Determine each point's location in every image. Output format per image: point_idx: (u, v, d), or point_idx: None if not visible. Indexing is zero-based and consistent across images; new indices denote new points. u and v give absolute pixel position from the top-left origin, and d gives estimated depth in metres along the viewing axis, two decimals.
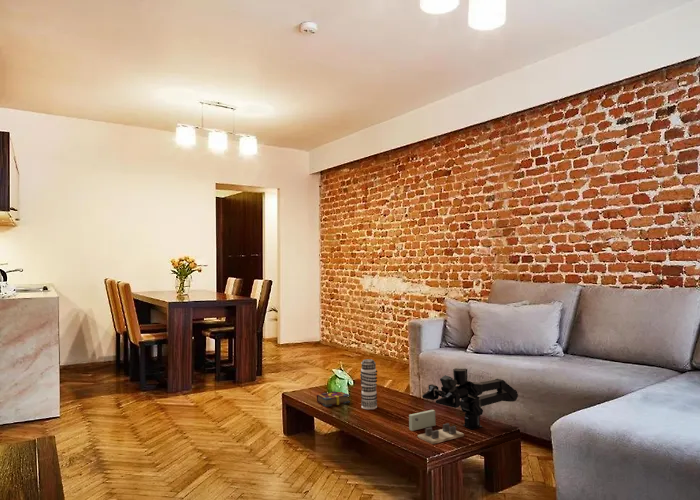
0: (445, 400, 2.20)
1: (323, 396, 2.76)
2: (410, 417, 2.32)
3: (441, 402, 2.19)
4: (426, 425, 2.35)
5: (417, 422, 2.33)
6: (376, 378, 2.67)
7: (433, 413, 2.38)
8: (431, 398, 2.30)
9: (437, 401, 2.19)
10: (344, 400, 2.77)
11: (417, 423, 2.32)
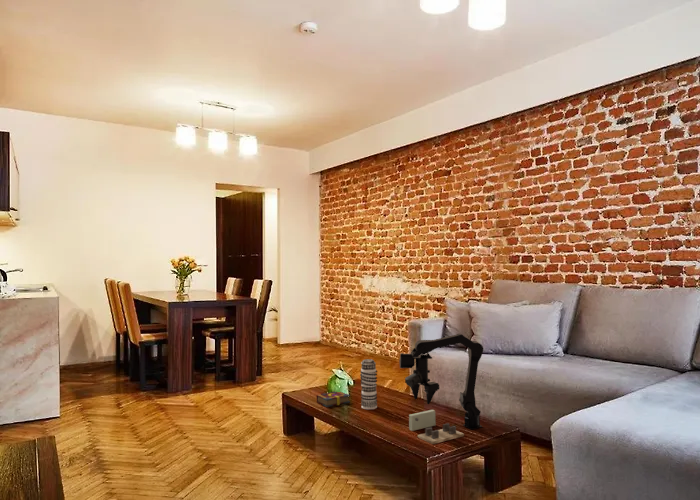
0: (429, 394, 2.30)
1: (323, 396, 2.76)
2: (410, 417, 2.32)
3: (430, 398, 2.31)
4: (426, 425, 2.35)
5: (417, 422, 2.32)
6: (376, 378, 2.67)
7: (433, 413, 2.37)
8: (418, 387, 2.41)
9: (428, 402, 2.31)
10: (344, 400, 2.77)
11: (417, 423, 2.32)
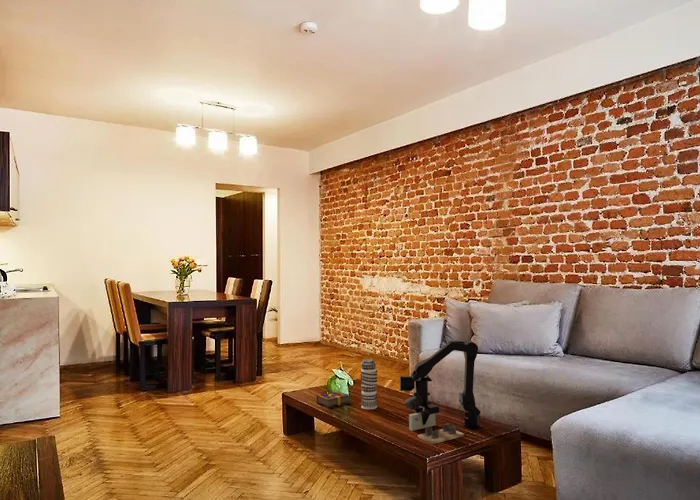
0: (425, 415, 2.33)
1: (324, 397, 2.75)
2: (410, 417, 2.32)
3: (426, 419, 2.34)
4: (426, 425, 2.35)
5: (417, 422, 2.32)
6: (376, 378, 2.67)
7: None
8: (423, 411, 2.38)
9: (424, 423, 2.34)
10: (345, 400, 2.77)
11: (417, 423, 2.32)
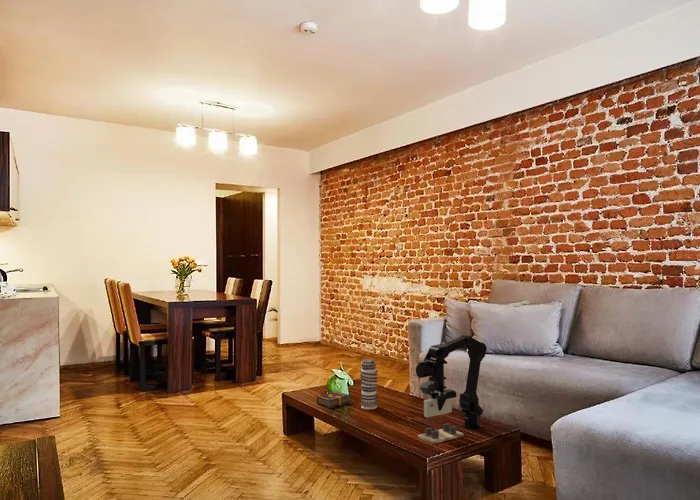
0: (441, 400, 2.22)
1: (324, 398, 2.73)
2: (425, 403, 2.21)
3: (442, 405, 2.23)
4: (442, 411, 2.24)
5: (432, 408, 2.21)
6: (376, 378, 2.67)
7: (449, 399, 2.26)
8: None
9: (440, 409, 2.23)
10: (345, 400, 2.76)
11: (432, 409, 2.21)
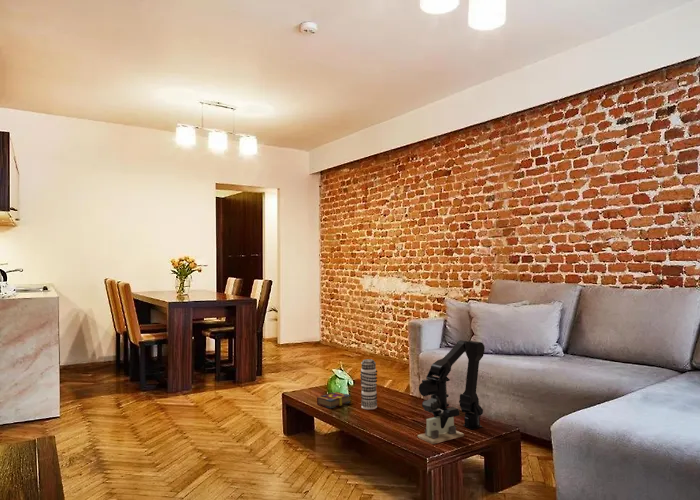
0: (443, 418, 2.21)
1: (325, 398, 2.73)
2: (428, 422, 2.19)
3: (444, 423, 2.21)
4: (444, 430, 2.23)
5: (435, 427, 2.20)
6: (376, 378, 2.67)
7: (451, 417, 2.25)
8: None
9: (442, 427, 2.21)
10: (345, 400, 2.76)
11: (435, 428, 2.20)
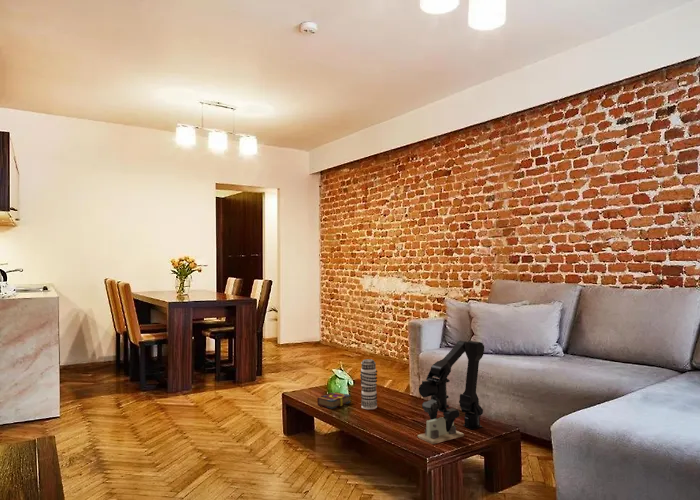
0: (449, 421, 2.18)
1: (326, 398, 2.72)
2: (428, 423, 2.19)
3: (449, 426, 2.18)
4: (444, 432, 2.23)
5: (435, 428, 2.20)
6: (376, 378, 2.67)
7: None
8: (436, 412, 2.28)
9: (448, 430, 2.18)
10: (346, 400, 2.76)
11: (435, 429, 2.20)
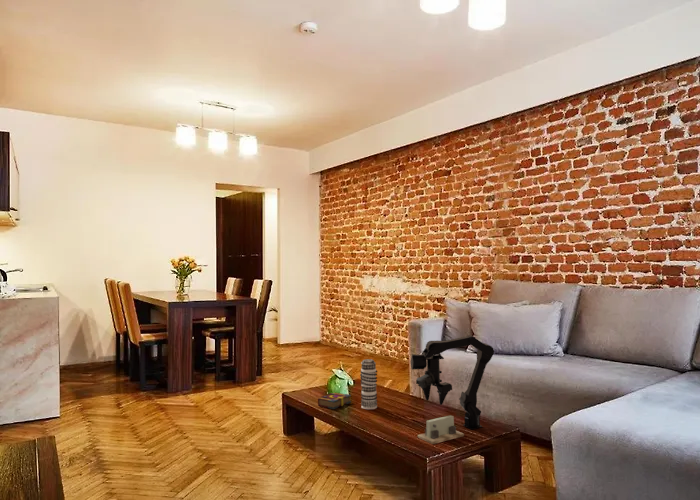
0: (442, 395, 2.29)
1: (327, 399, 2.71)
2: (428, 423, 2.19)
3: (443, 399, 2.30)
4: (444, 432, 2.23)
5: (435, 428, 2.20)
6: (376, 378, 2.67)
7: (451, 419, 2.25)
8: (429, 388, 2.39)
9: (441, 403, 2.30)
10: (346, 401, 2.76)
11: (435, 429, 2.20)
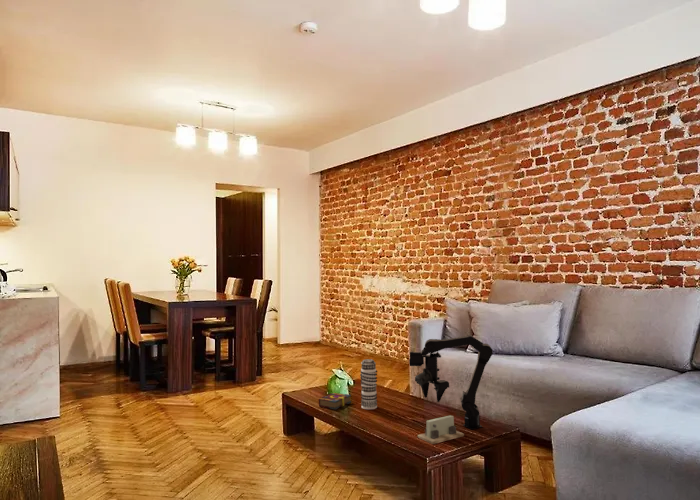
0: (439, 392, 2.34)
1: (328, 399, 2.70)
2: (428, 423, 2.19)
3: (440, 396, 2.34)
4: (444, 432, 2.23)
5: (435, 428, 2.20)
6: (376, 378, 2.67)
7: (451, 419, 2.25)
8: (428, 385, 2.44)
9: (438, 400, 2.34)
10: (347, 401, 2.76)
11: (435, 429, 2.20)
